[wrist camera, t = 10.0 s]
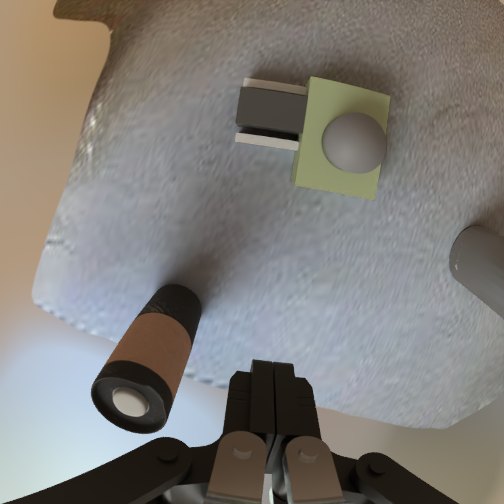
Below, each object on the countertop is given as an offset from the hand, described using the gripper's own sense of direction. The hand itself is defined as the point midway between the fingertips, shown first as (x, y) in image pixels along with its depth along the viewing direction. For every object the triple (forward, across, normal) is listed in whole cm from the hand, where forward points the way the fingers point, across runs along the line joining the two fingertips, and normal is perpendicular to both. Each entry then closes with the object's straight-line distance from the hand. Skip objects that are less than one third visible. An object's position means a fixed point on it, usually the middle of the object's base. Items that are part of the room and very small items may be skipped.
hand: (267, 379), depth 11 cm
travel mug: (+29, +10, +14) cm, 34 cm away
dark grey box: (+29, +1, -13) cm, 32 cm away
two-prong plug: (+29, -4, -11) cm, 31 cm away
